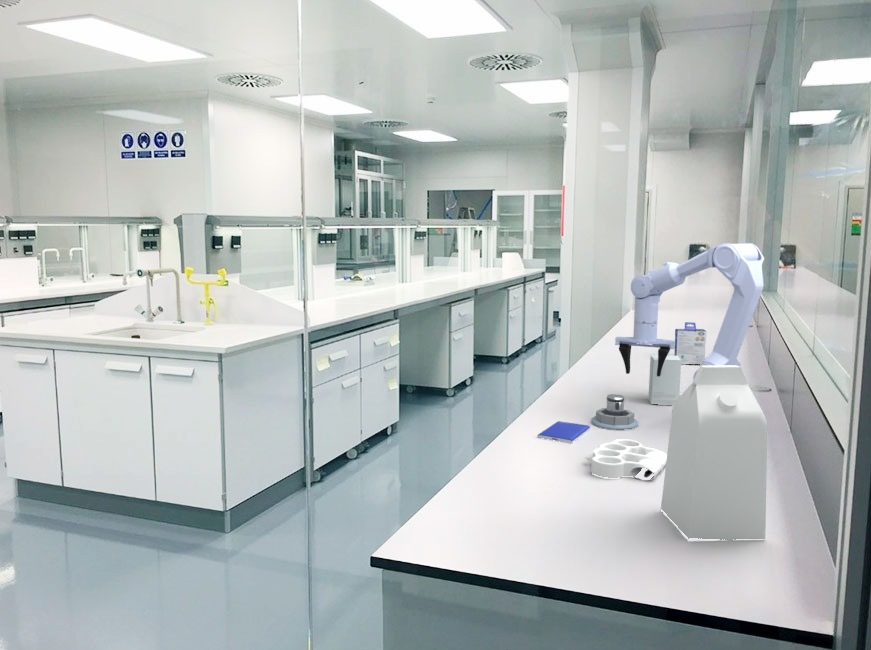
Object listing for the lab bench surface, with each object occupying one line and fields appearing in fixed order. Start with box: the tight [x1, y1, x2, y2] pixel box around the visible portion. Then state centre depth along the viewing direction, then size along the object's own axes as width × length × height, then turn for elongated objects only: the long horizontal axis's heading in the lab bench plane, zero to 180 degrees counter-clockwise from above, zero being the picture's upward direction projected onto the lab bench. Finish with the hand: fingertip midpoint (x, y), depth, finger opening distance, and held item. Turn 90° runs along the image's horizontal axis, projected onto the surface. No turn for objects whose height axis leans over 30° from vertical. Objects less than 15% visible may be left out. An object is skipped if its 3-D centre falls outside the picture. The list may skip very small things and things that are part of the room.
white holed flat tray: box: [584, 438, 667, 481], centre depth 139 cm, size 3×18×15 cm
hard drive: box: [537, 420, 591, 444], centre depth 161 cm, size 2×8×12 cm
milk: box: [660, 365, 768, 540], centre depth 110 cm, size 12×12×26 cm
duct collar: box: [591, 407, 639, 431], centre depth 170 cm, size 11×11×3 cm
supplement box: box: [647, 354, 682, 407], centre depth 190 cm, size 7×7×13 cm
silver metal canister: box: [606, 393, 625, 416], centre depth 169 cm, size 4×5×6 cm
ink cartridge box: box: [673, 321, 707, 366], centre depth 245 cm, size 10×6×14 cm, turn 81°
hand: (643, 374), depth 179 cm, fingers open, 7 cm apart
